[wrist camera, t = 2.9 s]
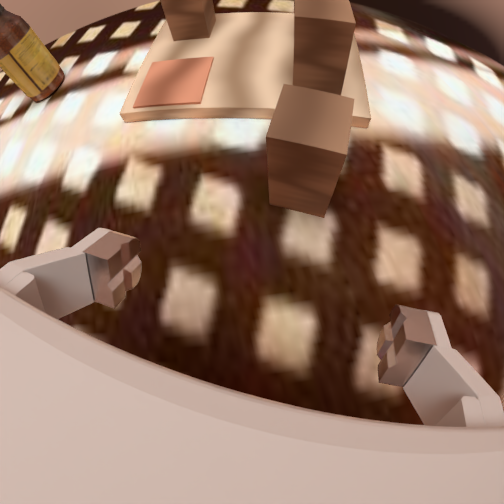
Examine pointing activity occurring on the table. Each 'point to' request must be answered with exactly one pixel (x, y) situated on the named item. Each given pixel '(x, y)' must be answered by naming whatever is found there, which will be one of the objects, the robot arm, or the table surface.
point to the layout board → (246, 61)
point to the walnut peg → (307, 148)
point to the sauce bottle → (27, 58)
